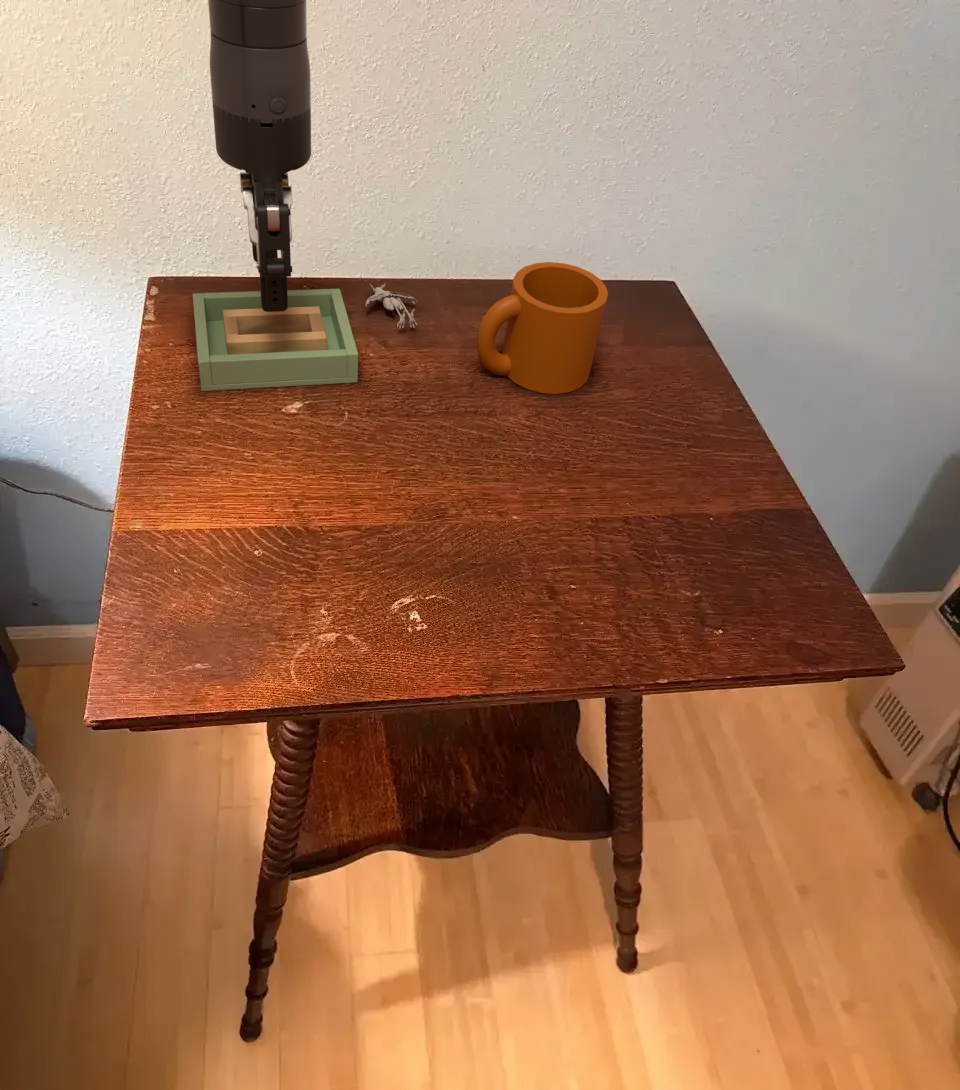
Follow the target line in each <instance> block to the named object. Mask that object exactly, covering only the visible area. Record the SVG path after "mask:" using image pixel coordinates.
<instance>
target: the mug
mask: <svg viewBox="0 0 960 1090" xmlns="http://www.w3.org/2000/svg"><path fill="white" fill-rule="evenodd" d="M608 297H609V292H608V288H607V286H606V285H605V283H604V282H603V280H601V278H599V277H598V276H596V275H595V274H594V273H592V272H591V271H589V270H586V269H584V268H582V267H579V266H576V265H572V264H568V263H564V262H555V261H554V262H553V261H546V262H535V263H532V264H528V265H525V266H523V267H521V268H520V269H519V270H518V271H516V273H515V275H514V277H513V278H512V283H511V291H510V295H508V296H505V297H503V298H501V299H499V300H498V301H496V302H495V303H493V305H492V306H491V307H490V308H489V309H488V310H487V311H486V313H485V314H484V316H483V317H482V319H481V322H480V324H479V327H478V328H477V333H476V339H475V341H476V351H477V355H478V357H479V361H480V362H481V364H482V365H483V368H485V369H486V370H487V371H489V372H490V373H492V374H494V375H496V376H501V377H502V376H503V377H505V376H506V377H507V378H509V379H510V380H511V381H512V382H513V383H514V384H516V385H518V386H520V387H522V388H524V389H525V390H530V391H532V392H536V393H541V394H551V395H558V394H559V395H560V394H566V393H567V394H568V393H571V392H574V391H576V390H579V389H580V388H582V387H583V386H584V385H585V384H586V383H588V380H589V378H590V377H589V376H590V374H591V369H592V366H593V362H594V357H595V353H596V348H597V344H598V340H599V335H600V331H601V327H602V323H603V318H604V315H605V310H606V306H607V301H608ZM504 324H505V330H504V337H503V343H502V350H501V353H500V352H499V351H498V350H497V348H496V344H495V341H496V336H497V333H498V331H499V330H500V328H501V327H502V326H503V325H504Z"/></svg>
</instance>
